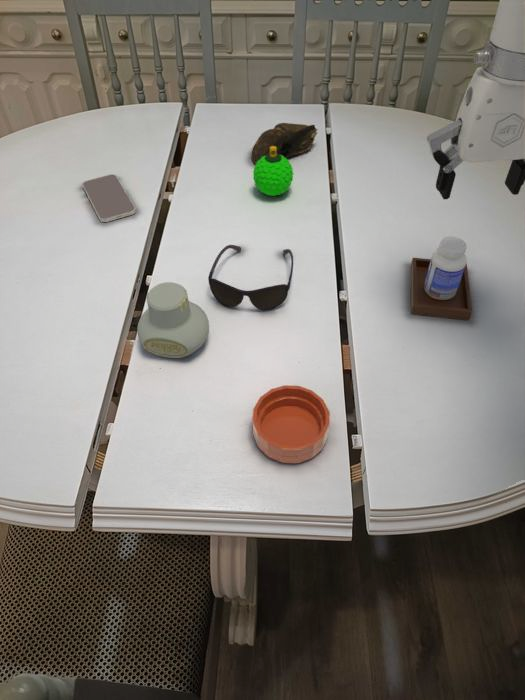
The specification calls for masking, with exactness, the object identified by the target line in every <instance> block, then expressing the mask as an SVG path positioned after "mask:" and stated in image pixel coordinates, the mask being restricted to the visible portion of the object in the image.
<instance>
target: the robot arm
mask: <svg viewBox="0 0 525 700" xmlns="http://www.w3.org/2000/svg"><path fill="white" fill-rule="evenodd" d="M472 59H473V60H472V61H473V64H474V65H480V67H479V66H478V67H477V68H476V69H475V71H474V73H473V75H472V77H471V79H470V81H469V83H468V86H467V88H466V90H465V93H464V96H463V98H462V100H461V103H460V106H459V109H458V112H457V114H456V118H455V120H454V121H453V122H451V123H449V124H447V125H445V126H444V127H441V128H439V129H437V130H435V131H433V132H431V133H430V134H428V135H427V136H426V142H427V145H428V149H429V151H430V154H431V156H432V157H433V159H434V161H435V162H436V163H437V165H438V166H439V169H438V173H437V176H436V182H435V188H436V190H437V192H439V194H440V196H441V197H442V199H443V200H448V199H450V197H451V194H452V190H453V187H454V183H455V179H456V174H457V173H456V171H455V169H456V168H457V167H458V166H460V165H461V164H462V163H463V162H466V163H490V162H491V163H492V162H502V161H504V162H506V161H511V163H510V167H509V169H508V171H507V175H506V178H505V181H504V185H505V186H506V187H507V189H508V191H509V192H510V193H511V194H512V195H513V196H516V195H519V193H520V191H521V189H522V186H523V185H524V184H525V0H499V2H498V5H497V9H496V13H495V17H494V20H493V25H492V27H491V32H490V35H489V40H487V41H486V45H485V48H483V49H481V50H475V52H474V53H473V57H472ZM449 140H450V144H451V145H450V146H449V147H447V148H446V149H445V150H444V151H443V150H442V145H443V143H445V142H447V141H449Z"/></svg>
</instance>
